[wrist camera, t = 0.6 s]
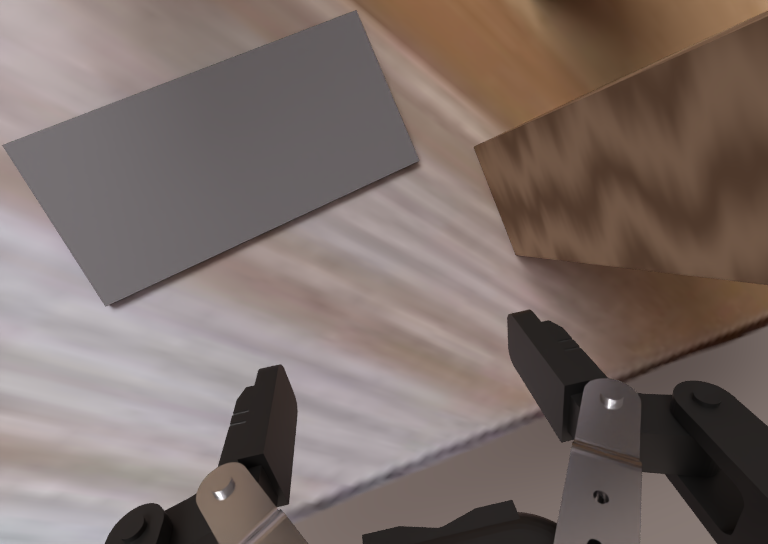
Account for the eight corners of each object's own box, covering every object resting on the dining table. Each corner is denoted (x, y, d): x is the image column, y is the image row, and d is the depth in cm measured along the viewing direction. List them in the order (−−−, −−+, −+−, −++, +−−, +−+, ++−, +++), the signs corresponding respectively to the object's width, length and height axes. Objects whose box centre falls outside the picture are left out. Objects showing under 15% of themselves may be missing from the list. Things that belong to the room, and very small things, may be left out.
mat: (7, 146, 30) (2, 145, 30) (355, 13, 35) (356, 10, 34) (108, 305, 33) (105, 306, 32) (417, 161, 38) (419, 160, 37)
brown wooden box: (470, 137, 39) (1394, -331, 6) (627, 64, 42) (1775, -495, 10) (519, 263, 41) (1335, 389, 9) (663, 185, 45) (1645, 73, 12)
